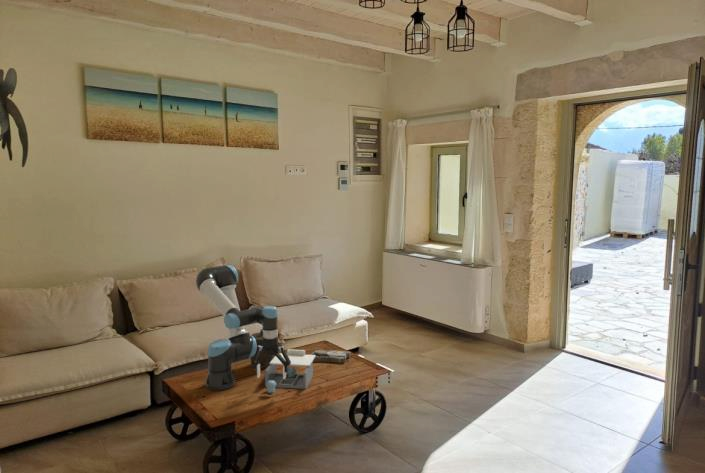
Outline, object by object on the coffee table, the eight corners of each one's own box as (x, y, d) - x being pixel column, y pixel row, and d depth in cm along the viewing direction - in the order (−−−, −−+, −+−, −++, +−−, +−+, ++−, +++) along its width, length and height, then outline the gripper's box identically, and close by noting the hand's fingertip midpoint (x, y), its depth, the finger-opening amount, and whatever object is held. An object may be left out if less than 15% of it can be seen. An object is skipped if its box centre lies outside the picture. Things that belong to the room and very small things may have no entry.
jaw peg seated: (285, 380, 258) (285, 369, 257) (287, 376, 263) (287, 366, 262) (294, 380, 257) (294, 370, 256) (297, 377, 262) (297, 366, 262)
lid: (269, 364, 257) (269, 358, 257) (277, 354, 272) (277, 348, 272) (309, 366, 254) (309, 360, 254) (315, 356, 269) (315, 350, 269)
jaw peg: (264, 394, 242) (264, 383, 242) (268, 390, 247) (267, 379, 247) (274, 395, 242) (274, 384, 241) (277, 391, 247) (277, 380, 246)
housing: (265, 388, 250) (264, 370, 249) (274, 376, 266) (273, 359, 265) (305, 390, 247) (305, 373, 246) (312, 378, 263) (312, 361, 262)
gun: (345, 359, 283) (350, 350, 297) (306, 356, 287) (313, 348, 302) (345, 365, 283) (350, 356, 298) (306, 362, 288) (313, 354, 302)
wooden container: (261, 359, 292) (260, 324, 290) (281, 363, 286) (280, 327, 283) (245, 367, 279) (244, 331, 276) (266, 371, 272) (265, 334, 270)
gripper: (244, 338, 239) (245, 379, 241) (292, 340, 236) (293, 381, 238) (249, 334, 247) (250, 373, 249) (296, 335, 243) (297, 375, 245)
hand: (271, 377), depth 243 cm, fingers open, 13 cm apart
